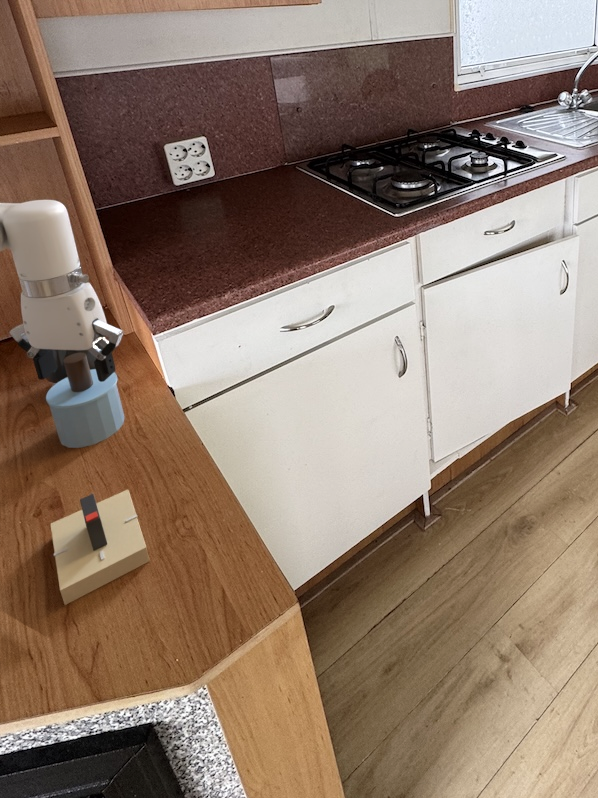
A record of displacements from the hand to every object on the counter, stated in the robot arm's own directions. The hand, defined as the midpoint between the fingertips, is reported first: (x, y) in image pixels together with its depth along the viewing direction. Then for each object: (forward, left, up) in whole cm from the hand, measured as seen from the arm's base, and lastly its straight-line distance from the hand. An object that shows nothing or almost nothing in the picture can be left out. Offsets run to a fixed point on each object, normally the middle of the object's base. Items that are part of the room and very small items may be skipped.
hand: (78, 375), depth 94 cm
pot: (0, 0, -11) cm, 11 cm away
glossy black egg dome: (-14, +8, -11) cm, 20 cm away
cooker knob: (+23, -15, -8) cm, 29 cm away
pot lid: (0, 0, -3) cm, 3 cm away
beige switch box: (+23, -15, -11) cm, 30 cm away
